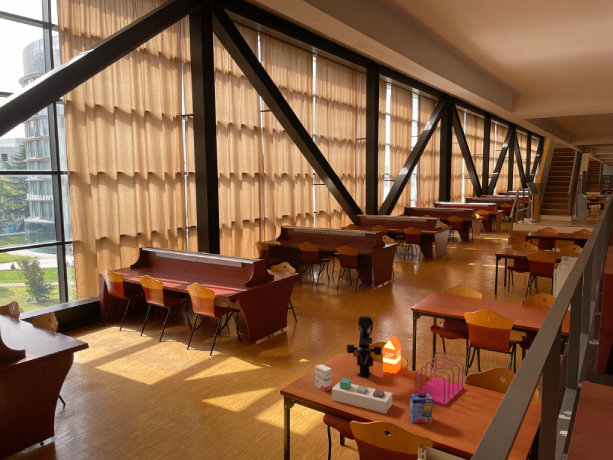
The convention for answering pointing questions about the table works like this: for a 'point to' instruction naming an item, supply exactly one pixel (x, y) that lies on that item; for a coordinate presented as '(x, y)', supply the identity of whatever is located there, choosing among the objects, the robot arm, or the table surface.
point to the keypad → (362, 398)
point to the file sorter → (440, 384)
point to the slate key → (361, 389)
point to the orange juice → (392, 356)
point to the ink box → (323, 377)
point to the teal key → (345, 384)
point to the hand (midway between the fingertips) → (363, 365)
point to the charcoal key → (378, 393)
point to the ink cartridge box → (421, 407)
